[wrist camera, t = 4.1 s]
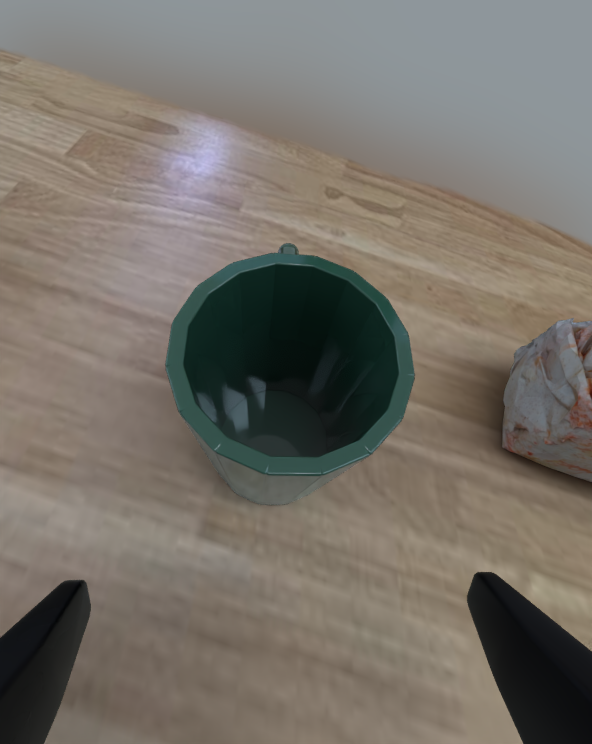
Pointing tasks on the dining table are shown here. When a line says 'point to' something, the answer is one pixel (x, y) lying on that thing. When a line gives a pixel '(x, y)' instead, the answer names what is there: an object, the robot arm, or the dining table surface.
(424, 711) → the dining table surface
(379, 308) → the mug
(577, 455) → the food item
